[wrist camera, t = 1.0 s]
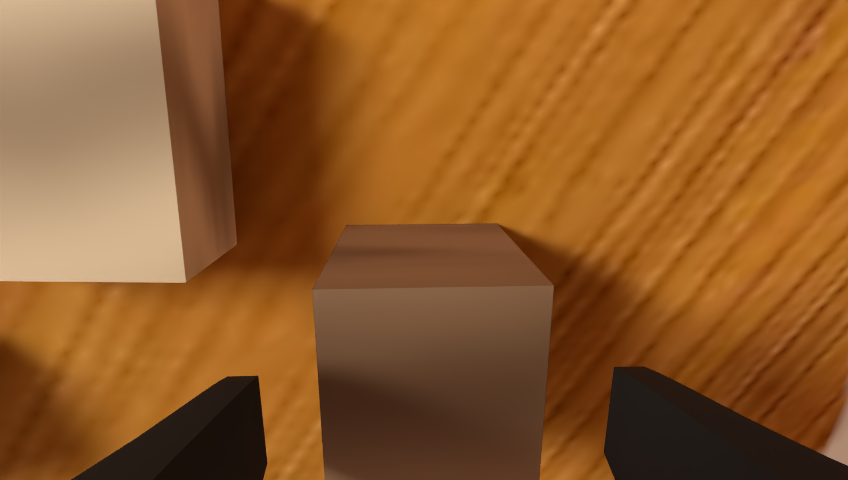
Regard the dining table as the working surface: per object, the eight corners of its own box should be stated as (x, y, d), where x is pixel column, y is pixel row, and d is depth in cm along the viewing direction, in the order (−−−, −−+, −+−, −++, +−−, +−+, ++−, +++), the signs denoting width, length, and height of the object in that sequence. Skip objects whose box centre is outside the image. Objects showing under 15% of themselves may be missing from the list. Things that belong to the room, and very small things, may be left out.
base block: (239, 242, 15) (186, 282, 12) (-11, 239, 15) (-155, 279, 11) (220, -24, 13) (146, -82, 10) (-70, -36, 13) (-271, -104, 9)
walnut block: (491, 357, 17) (538, 484, 11) (352, 360, 16) (325, 492, 11) (496, 223, 15) (553, 285, 10) (346, 224, 15) (312, 289, 9)
